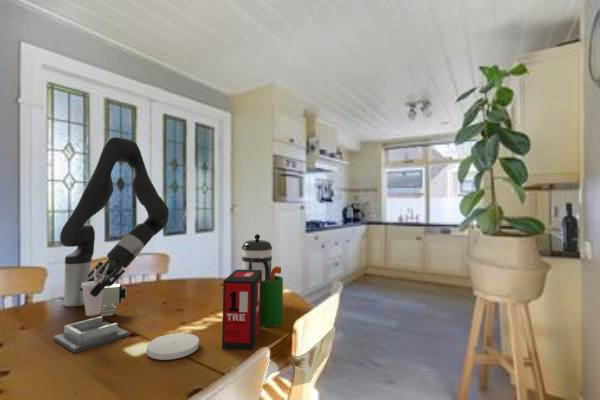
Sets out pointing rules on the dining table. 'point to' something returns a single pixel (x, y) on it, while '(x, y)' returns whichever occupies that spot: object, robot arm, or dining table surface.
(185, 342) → the plastic lid
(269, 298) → the green cylindrical container
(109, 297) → the pneumatic valve
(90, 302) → the smoothie
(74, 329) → the mount plate
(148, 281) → the dining table surface
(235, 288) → the cleaning product box
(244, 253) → the coffee press
